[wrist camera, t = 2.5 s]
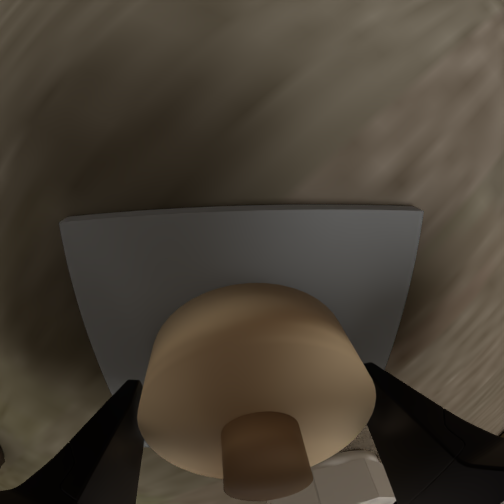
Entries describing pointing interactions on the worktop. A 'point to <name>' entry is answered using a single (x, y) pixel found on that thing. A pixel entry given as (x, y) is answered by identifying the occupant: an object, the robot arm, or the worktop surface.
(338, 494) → the bowl
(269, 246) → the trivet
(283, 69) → the worktop surface
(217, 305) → the lid
